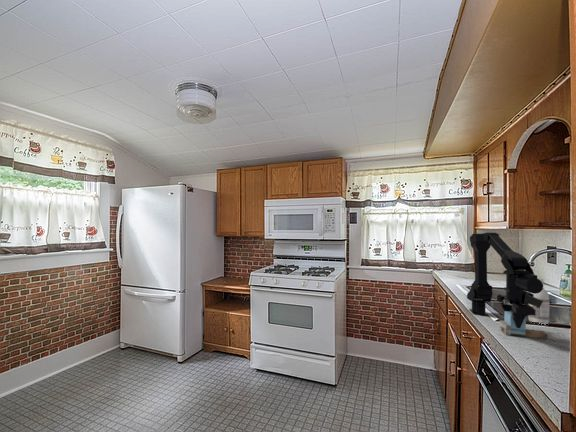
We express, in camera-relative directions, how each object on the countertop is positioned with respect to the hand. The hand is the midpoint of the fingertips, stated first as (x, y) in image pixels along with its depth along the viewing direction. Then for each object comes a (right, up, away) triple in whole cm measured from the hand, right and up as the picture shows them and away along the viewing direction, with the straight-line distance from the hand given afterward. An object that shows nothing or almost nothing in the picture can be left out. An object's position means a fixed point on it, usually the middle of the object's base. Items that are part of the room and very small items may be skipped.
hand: (514, 324), depth 112 cm
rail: (+3, -4, -1) cm, 5 cm away
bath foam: (+22, -4, +13) cm, 25 cm away
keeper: (0, -4, 0) cm, 4 cm away
